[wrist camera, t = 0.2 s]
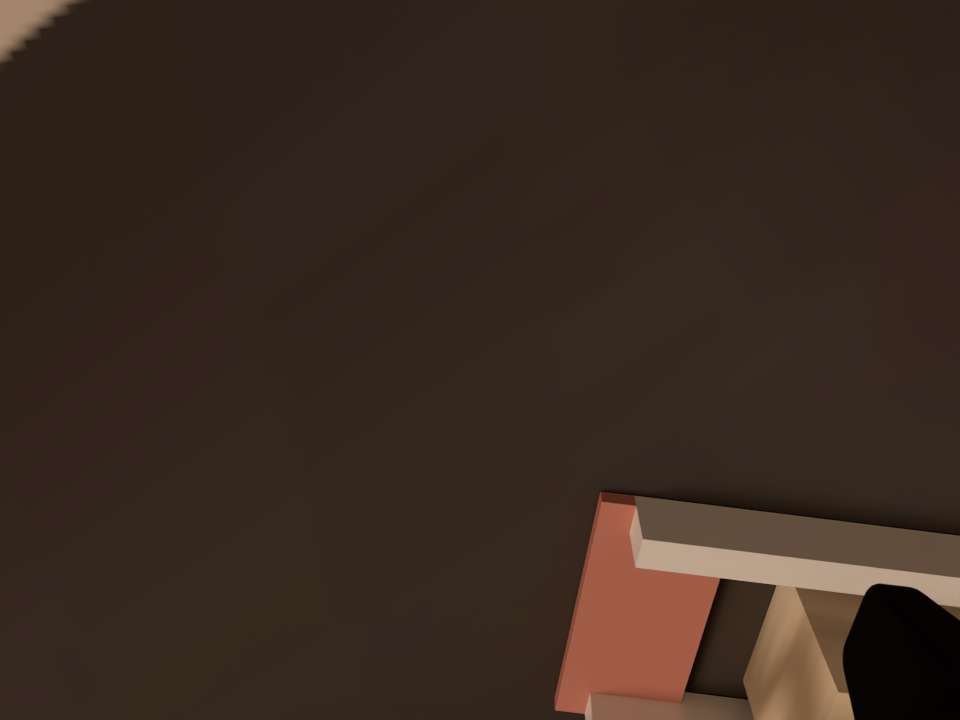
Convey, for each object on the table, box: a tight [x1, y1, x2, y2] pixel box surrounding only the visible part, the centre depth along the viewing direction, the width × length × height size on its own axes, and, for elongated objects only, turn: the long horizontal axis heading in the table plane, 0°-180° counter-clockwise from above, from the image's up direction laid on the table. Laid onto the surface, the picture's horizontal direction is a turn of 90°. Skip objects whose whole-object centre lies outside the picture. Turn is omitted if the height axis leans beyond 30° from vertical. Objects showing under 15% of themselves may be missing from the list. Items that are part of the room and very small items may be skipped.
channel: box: [555, 492, 960, 720], centre depth 26 cm, size 9×20×2 cm, turn 83°
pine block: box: [743, 585, 960, 720], centre depth 25 cm, size 5×5×5 cm
